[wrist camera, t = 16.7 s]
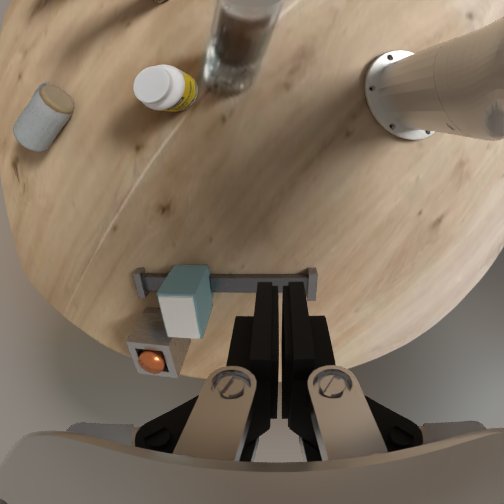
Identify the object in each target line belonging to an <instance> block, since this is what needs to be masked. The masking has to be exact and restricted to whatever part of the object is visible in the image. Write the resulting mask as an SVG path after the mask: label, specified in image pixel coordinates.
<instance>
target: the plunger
mask: <svg viewBox="0 0 504 504" xmlns="http://www.w3.org/2000/svg"><path fill="white" fill-rule="evenodd" d="M138 363H139V365H140V366H141V368H142V369H144V370H145V371H147V372H149V373H153V374H158V373H161V372H162V370H163V368H164V365H165V363H166V361H165V357H164V354H163V351H155V350H145V349H143V351H142V353H141V355H140V357H139V359H138Z"/></svg>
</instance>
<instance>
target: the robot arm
mask: <svg viewBox="0 0 504 504" xmlns="http://www.w3.org/2000/svg"><path fill="white" fill-rule="evenodd" d="M387 57H388V58H389V60H388V59H387ZM369 87H371V88H372V91H370V90H369ZM365 96H366V101H367V104H368V107H369V109H370V111H371V113H372V114H373V116H374V118H375V119H376V120H377V121H378V123H379V124H380V125H381V126H382V127H383V128H384V129H385V130H387V131H388V132H390V133H391V134H393V135H395V136H397V137H400V138H403V139H408V140H422V139H425V138H428V137H430V136H431V135H433V134H434V133H436V132H441V133H448V134H454V135H460V136H465V137H471V138H477V139H482V140H489V141H495V140H501V139H504V17H502V18H500V19H499V20H497V21H495V22H493V23H491V24H489V25H487V26H485V27H483V28H481V29H479V30H476V31H473V32H471V33H468V34H466V35H463V36H460V37H457V38H454V39H452V40H449V41H446V42H443V43H440V44H438V45H435V46H432V47H430V48H427V49H424V50H422V51H419V52H417V53H412V52H409V51H404V50H394V51H390V52H387V53H384V54H382V55H381V56H379V57H378V58H377V59H375V60H374V61H373V63H372V64H371V65H370V67H369V69H368V71H367V73H366V78H365ZM390 124H391V128H390V127H389V125H390ZM425 130H426V132H425ZM278 367H279V315H278V286H272V282H258V283H257V292H256V302H255V312H254V316H236V318H235V323H234V328H233V333H232V339H231V344H230V349H229V355H228V360H227V365H226V367H222V368H219V369H217V370H215V371H214V372H212V373H211V374H210V375H209V376H208V378H207V380H206V382H205V384H204V386H203V388H202V390H201V392H200V395H198V396H197V397H195V398H193V399H191V400H189V401H188V402H186V403H184V404H182V405H180V406H178V407H177V408H175V409H173V410H171V411H169V412H167V413H165V414H163V415H161V416H159V417H157V418H155V419H153V420H151V421H149V422H147V423H146V424H144V425H143V426H142V427H134V425H132V424H129V425H128V424H100V423H85V422H82V423H76V424H74V425H71V426H70V427H69V428H68V429H67V430H66V431H39V432H33V433H29V434H27V435H25V436H23V437H22V438H20V439H19V440H18V441H17V442H16V443H15V444H14V445H13V447H12V448H11V449H10V451H9V452H8V454H7V455H6V457H5V458H4V460H3V461H2V463H1V465H0V504H504V428H490V429H486V428H485V427H484V426H483V424H481V423H479V422H477V421H464V422H463V421H462V422H445V423H424V424H423V426H417V425H416V424H415V423H413V422H412V421H410V420H408V419H407V418H405V417H403V416H401V415H399V414H397V413H395V412H393V411H392V410H390V409H388V408H386V407H384V406H382V405H380V404H379V403H377V402H375V401H374V400H372V399H370V398H368V397H366V396H365V395H364V394H363V392H362V390H361V387H360V385H359V383H358V381H357V378H356V377H355V376H354V374H353V373H352V372H351V371H349V370H348V369H346V368H343V367H341V366H336V365H335V360H334V355H333V350H332V345H331V340H330V335H329V331H328V326H327V322H326V318H325V316H309V314H308V307H307V301H306V295H305V288H304V282H288V286H283V303H282V419H288V427H290V429H291V430H292V431H293V432H295V433H296V434H297V435H299V443H300V447H301V452H302V456H303V461H304V462H289V463H288V462H287V463H267V462H266V463H263V462H253V461H254V458H255V454H256V450H257V446H258V442H259V436H260V435H262V434H263V433H265V432H266V431H267V430H269V428H270V419H274V418H275V419H276V418H277V399H278Z"/></svg>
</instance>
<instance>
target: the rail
mask: <svg viewBox="0 0 504 504" xmlns="http://www.w3.org/2000/svg"><path fill="white" fill-rule="evenodd" d="M167 276H168V274H152V273H145V269H144V268H137V269H136V270H135V272H134V273H133V277H134V281H135V285H136V289H137V293H138V297H139V298H146V297H147V295H148V293H149V292H150V291H149V290H152V291H158V290H159V288H160V287H161V285H162V284H163V282H164V280H165V279H166V277H167ZM317 276H318V274H317V270H316V268H308V272H307V274H210V275H209V281H210V289H211V292H257V283H258V282H272V286H278V292H283V286H288V282H304V288H305V292H306V295H307V301H316V289H317Z"/></svg>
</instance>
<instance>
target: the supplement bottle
mask: <svg viewBox="0 0 504 504" xmlns="http://www.w3.org/2000/svg"><path fill="white" fill-rule="evenodd" d="M133 90H134V93H135V96H136V97H137V98H138V99H139V100H140V101H142V103H143V104H144V105H145V106H147V107H148V108H151V109H154V110H161V111H173V112H177V111H182V110H185V109H187V108H188V107H190V106H191V105H192V104H193V103H194V101H195V99H196V97H197V93H198V87H197V84H196V82H195V80H194V79H193V78H192V77H191V76H190V75H188V74H186V73H185V72H183V71H181V70H179V69H177V68H175V67H173V66H170V65H157V66H152V67H148V68H145V69H144V70H142V71H141V72H140V73H139V74H138V75H137V77H136V78H135V81H134V85H133Z"/></svg>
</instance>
